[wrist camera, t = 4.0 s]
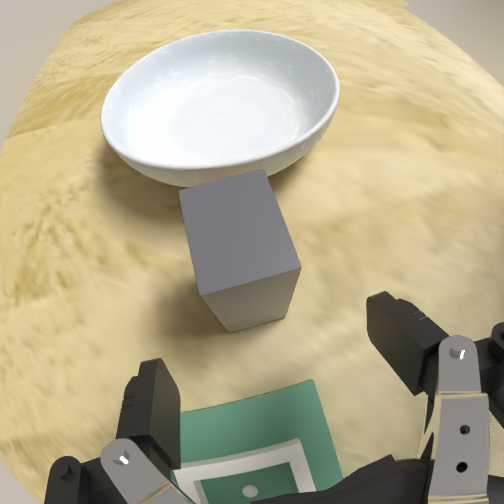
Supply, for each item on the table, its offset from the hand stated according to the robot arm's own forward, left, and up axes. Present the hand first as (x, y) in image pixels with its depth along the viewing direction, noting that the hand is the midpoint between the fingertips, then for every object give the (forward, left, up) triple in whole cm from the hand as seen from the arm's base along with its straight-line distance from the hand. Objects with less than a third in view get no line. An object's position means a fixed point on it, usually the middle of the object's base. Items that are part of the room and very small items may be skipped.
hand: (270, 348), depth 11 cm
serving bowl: (-18, -12, -10) cm, 24 cm away
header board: (+10, +4, -10) cm, 14 cm away
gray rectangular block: (-4, -3, -10) cm, 11 cm away
